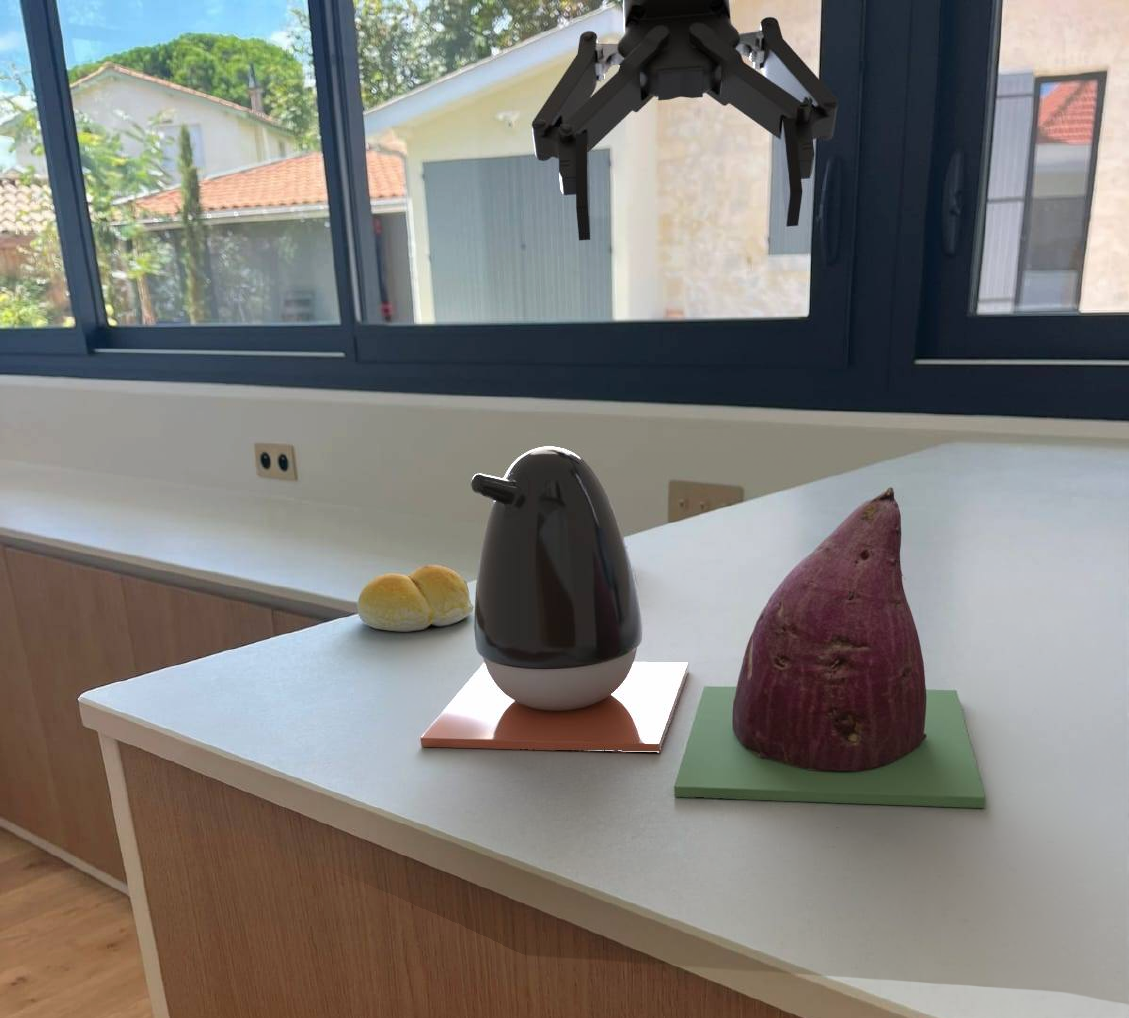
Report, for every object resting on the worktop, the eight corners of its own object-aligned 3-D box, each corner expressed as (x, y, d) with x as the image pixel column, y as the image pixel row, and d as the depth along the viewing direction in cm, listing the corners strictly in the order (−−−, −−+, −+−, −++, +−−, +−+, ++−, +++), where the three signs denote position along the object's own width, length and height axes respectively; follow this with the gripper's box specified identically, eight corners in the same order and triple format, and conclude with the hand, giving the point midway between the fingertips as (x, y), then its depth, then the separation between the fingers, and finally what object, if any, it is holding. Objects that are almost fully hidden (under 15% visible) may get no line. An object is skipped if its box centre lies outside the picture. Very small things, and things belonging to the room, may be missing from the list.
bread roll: (352, 614, 94) (346, 566, 93) (458, 599, 97) (454, 552, 95) (369, 641, 87) (362, 589, 85) (483, 623, 89) (479, 573, 88)
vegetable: (920, 763, 67) (1015, 510, 61) (889, 817, 58) (997, 525, 52) (751, 703, 70) (827, 457, 65) (697, 744, 61) (780, 463, 56)
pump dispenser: (445, 700, 72) (419, 453, 66) (572, 659, 78) (558, 429, 72) (548, 742, 65) (529, 468, 59) (678, 693, 71) (673, 440, 65)
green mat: (955, 699, 69) (956, 689, 68) (984, 808, 55) (985, 797, 55) (704, 694, 72) (704, 685, 72) (674, 797, 59) (673, 786, 58)
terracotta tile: (688, 671, 76) (688, 662, 76) (659, 753, 64) (659, 744, 64) (486, 668, 79) (485, 660, 79) (420, 747, 67) (419, 737, 67)
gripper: (844, 29, 85) (874, 249, 77) (509, 56, 87) (504, 273, 79) (860, -76, 78) (894, 153, 70) (495, -45, 80) (488, 182, 72)
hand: (688, 217), depth 74 cm, fingers open, 13 cm apart
